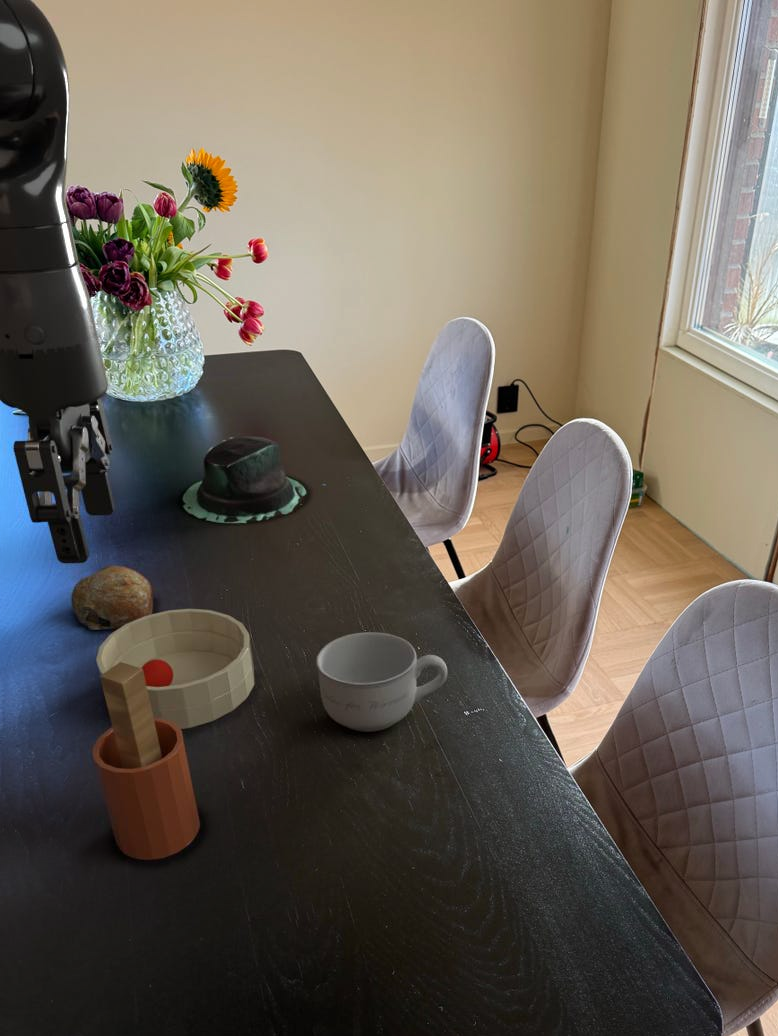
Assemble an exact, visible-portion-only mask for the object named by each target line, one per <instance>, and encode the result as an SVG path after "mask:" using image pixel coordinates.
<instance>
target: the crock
mask: <svg viewBox="0 0 778 1036" xmlns="http://www.w3.org/2000/svg"><path fill="white" fill-rule="evenodd" d="M154 723H155V727H156V732H157V737H158V741H159V746H160V750H161V755H162V759H161V760H159V761H157V762H155V763H153V764H151V765H148V766H144V767H139V768H134V769H124V768H123V766H122V762H121V758H120V754H119V750H118V746H117V742H116V738H115V735H114V731H113V727H110V728H109V729H107V730H106V731H104V732H103V733H102V734H101V735H100V736H98V738H97V739H96V741H95V742H94V744H93V746H92V760H93V764H94V767H95V771H96V775H97V778H98V781H99V785H100V789H101V793H102V797H103V801H104V803H105V807H106V811H107V814H108V818H109V822H110V825H111V828H112V833H113V837H114V840H115V844H116V846H117V848H118V849H119V850H120V851H121V852H122V853H123V854H124V855H126V856H128V857H130V858H133V859H136V860H142V861H153V860H159V859H160V860H161V859H164V858H168V857H170V856H172V855H174V854H177V853H179V852H181V851H182V850H184V849H185V848H186V847H188V846H189V845H190V844H191V843H192V842H193V841H194V839H195V838H196V836H198V835H197V834H198V832H199V831H200V830H199V829H200V827H201V821H200V816H199V815H200V814H199V811H198V806H197V800H196V794H195V791H194V785H193V780H192V775H191V770H190V764H189V761H188V760H189V759H188V755H187V750H186V745H185V740H184V736H183V730H182V729H180V728H179V727H178V726H177V725H176V724H175V723H173V722H171V721H168V720H165V719H162V718H154Z"/></svg>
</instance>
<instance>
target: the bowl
mask: <svg viewBox="0 0 778 1036" xmlns="http://www.w3.org/2000/svg"><path fill="white" fill-rule="evenodd" d="M250 637H251V636H250V633H249V632H248V630H247V629H246V627H245V625H244V624H243V623H242V622H241V621H239V620H237V619H235V618H234V617H232V616H231V615H228V614H226V613H223V612H219V611H216V610H215V611H214V610H211V609H201V608H199V609H198V608H184V609H183V608H182V609H171V610H170V609H169V610H165V611H161V612H156V613H152V614H151V615H147V616H144V617H142V618H139V619H137V620H135V621H132V622H130V623H127V624H125V625H124V626H122V627H121V628H117V629H115V631H113V632H112V633H110V634H108V636H107V637H106V638H105V640H104V641H103V642H102V643H101V644H100V646H98V650H97V655H96V659H95V662H96V666H97V670H98V674H99V677H100V676H101V675H102V674H104V673H105V672H107V671H108V670H109V669H111V668H112V667H114V666H115V665H116V664H118V663H119V662H123V663H126V664H129V665H132V666H135V667H139V668H142V666H143V665H144V664H145V663H147V662H148V661H151V660H155V659H159V660H163V661H165V662H167V663H168V664H169V665H170V666H171V668H172V670H173V680H172V682H171V684H170V685H169V686H164V687H150V686H146V687H147V691H148V696H149V700H150V705H151V709H152V714H153V718H162V719H165V720H168V721H171V722H173V723H175V724H176V725H177V726H178V727H179V728H180V729H181V730H185V729H191V728H195V727H198V726H201V725H205V724H208V723H211V722H214V721H216V720H217V719H219V718H222V717H223V716H225V715H227V714H229V713H231V712H233V711H235V710H236V708H238V707H239V706H240V705H242V704H243V702H245V701H246V700H247V698H248V697H249V695H250V693H251V692H252V690H253V688H254V686H255V667H254V659H253V651H252V645H251V638H250Z"/></svg>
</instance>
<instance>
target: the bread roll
mask: <svg viewBox="0 0 778 1036" xmlns="http://www.w3.org/2000/svg"><path fill="white" fill-rule="evenodd" d="M70 599H71V608H72V610H73V612H74V614H75V616H76V617H77V619H78V621H79V623H81V624H82V625H84V626H86V627H88V630H90V631H97V630H98V631H101V630H118V629H119V628H121V627H122V626H124V625H125V624H127V623H130V622H132V621H135V620H137V619H139V618H142V617H144V616H147V615H152V614H153V607H154V597H153V588H152V585H151V583H150V581H149V580H148V579H147V578H146V577H145V576H144V575H143V574H141V573H140V572H138V571H136V570H134V569H132V568H129V567H127V566H122V565H110V566H106V567H103V568H101V569H100V570H98V571H97V572H94V573H92V574H90V575H88V576H85V577H82V578H80V580H79V581H78V582H77V583H76V584H75V585H74V587H73V589H72V592H71V597H70Z"/></svg>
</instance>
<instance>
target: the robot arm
mask: <svg viewBox="0 0 778 1036" xmlns="http://www.w3.org/2000/svg"><path fill="white" fill-rule="evenodd" d="M69 79H70V78H69V71H68V66H67V61H66V58H65V54H64V51H63V48H62V45H61V43H60V40H59V37H58V36H57V33H56V32H55V30H54V28H53V26H52V24H51V23H50V21H49V20H48V18H47V17H46V15H45V13H44V12H43V11H42V10H41V9H40V8H39V6H37V4H36V3H35V2H34V1H33V0H0V402H1V403H3V404H4V405H5V406H7V407H9V408H12V409H18V410H20V411H22V412H23V413H25V414H26V416H27V417H28V429H27V439H26V440H14V442H13V453H14V457H15V461H16V465H17V469H18V473H19V478H20V482H21V486H22V490H23V494H24V498H25V503H26V506H27V509H28V510H27V511H28V514H29V518H30V521H31V522H32V523H35V524H36V523H39V524H41V523H47V525H48V529H49V533H50V537H51V540H52V541H51V542H52V544H53V549H54V552H55V555H56V556H55V557H56V559H57V560H58V562H60V563H61V564H84V563H86V562H87V561H88V558H89V557H90V551H89V550H90V549H89V546H88V541H87V537H86V533H85V529H84V526H83V521H82V517H81V515H80V514H81V512H80V492H81V496H82V500H83V505H84V509H85V512H86V514H88V515H89V516H93V517H94V516H96V517H97V516H111V515H112V514H113V512H114V511H115V507H116V506H115V501H114V495H113V492H112V488H111V483H110V478H109V474H108V470H109V469H110V464H111V462H110V459H109V457H108V456H109V455H112V454H113V451H114V446H113V443H112V439H111V434H110V429H109V425H108V422H107V417H106V412H105V408H104V404H103V400H102V398H103V397H104V395H105V394H106V393H107V391H108V388H109V387H108V386H109V384H108V380H107V379H108V378H107V375H106V370H105V365H104V360H103V356H102V355H103V354H102V349H101V346H100V340H99V337H98V336H99V335H98V331H97V326H96V322H95V321H96V320H95V316H94V311H93V306H92V302H91V298H90V297H91V296H90V293H89V290H88V287H87V284H86V281H85V278H84V276H83V272H82V269H81V266H80V262H79V257H78V252H77V248H76V242H75V237H74V233H73V227H72V223H71V218H70V214H69V210H68V205H67V200H66V185H67V171H68V146H69V145H68V144H69V143H68V141H69V125H70V124H69V123H70V122H69V120H70V80H69ZM63 474H65V475H63ZM66 474H68V475H66ZM53 496H54V497H53ZM53 498H54V501H55V502H53Z"/></svg>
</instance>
